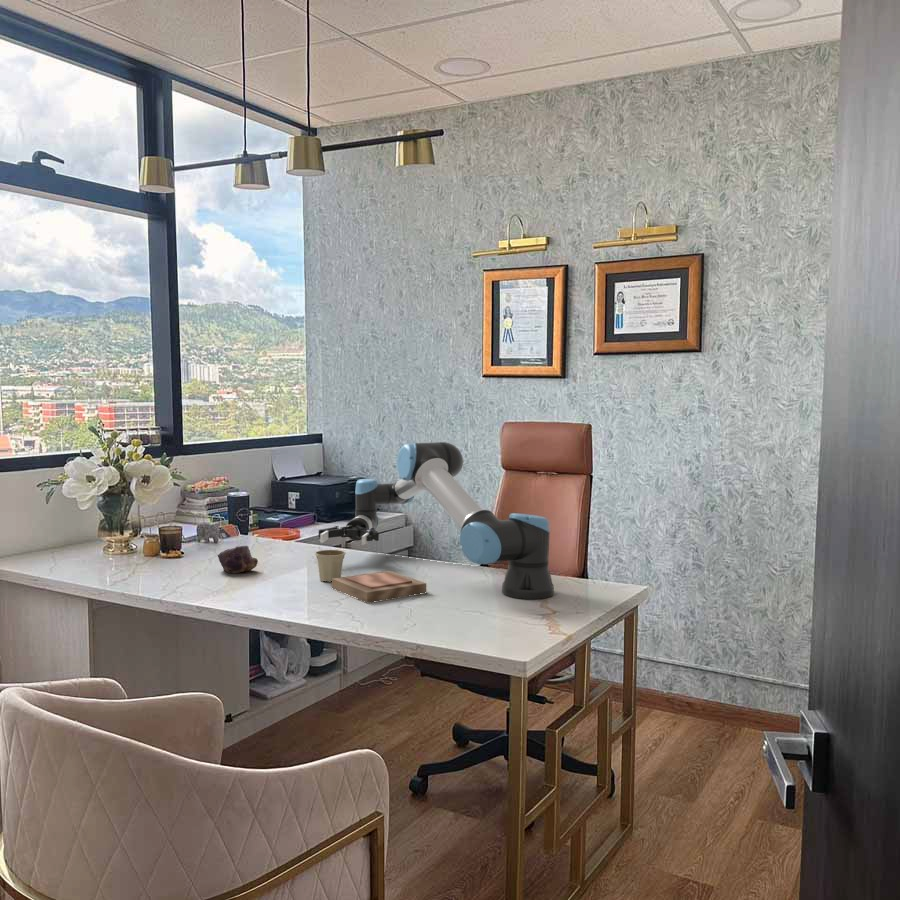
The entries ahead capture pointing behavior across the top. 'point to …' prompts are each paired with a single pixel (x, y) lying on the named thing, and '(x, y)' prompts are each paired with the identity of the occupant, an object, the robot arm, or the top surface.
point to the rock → (237, 560)
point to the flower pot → (330, 564)
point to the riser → (378, 586)
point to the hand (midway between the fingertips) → (341, 539)
